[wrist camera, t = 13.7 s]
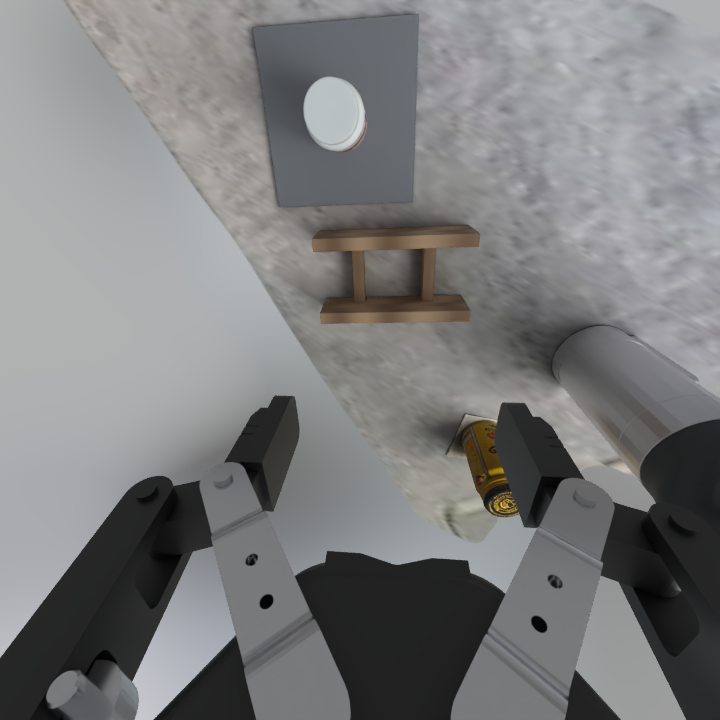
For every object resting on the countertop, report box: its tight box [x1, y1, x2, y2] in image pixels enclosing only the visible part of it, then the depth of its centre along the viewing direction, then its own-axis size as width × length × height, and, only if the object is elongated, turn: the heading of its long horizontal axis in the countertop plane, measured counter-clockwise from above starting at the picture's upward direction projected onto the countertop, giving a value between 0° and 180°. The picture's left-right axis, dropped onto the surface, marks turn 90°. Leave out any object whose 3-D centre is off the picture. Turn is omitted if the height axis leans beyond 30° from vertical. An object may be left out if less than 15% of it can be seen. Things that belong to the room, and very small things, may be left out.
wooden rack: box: [312, 225, 480, 324], centre depth 36 cm, size 16×9×5 cm, turn 93°
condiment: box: [447, 414, 519, 517], centre depth 45 cm, size 7×8×12 cm
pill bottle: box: [303, 77, 367, 153], centre depth 28 cm, size 5×5×8 cm
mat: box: [253, 14, 419, 207], centre depth 32 cm, size 14×14×1 cm
